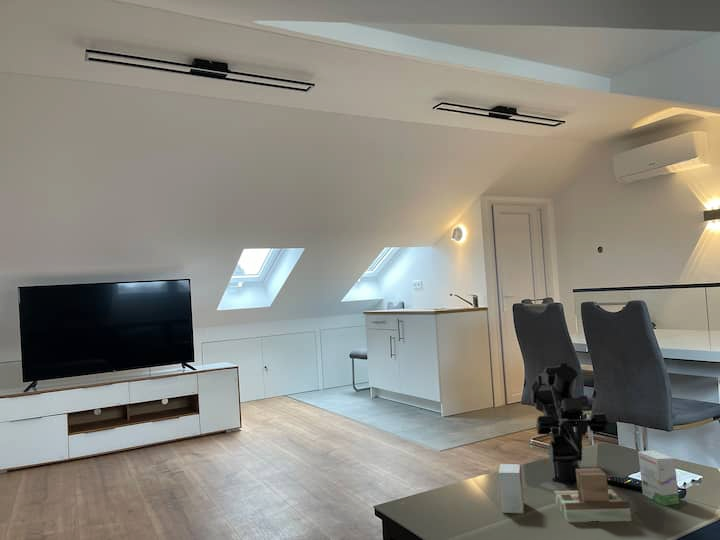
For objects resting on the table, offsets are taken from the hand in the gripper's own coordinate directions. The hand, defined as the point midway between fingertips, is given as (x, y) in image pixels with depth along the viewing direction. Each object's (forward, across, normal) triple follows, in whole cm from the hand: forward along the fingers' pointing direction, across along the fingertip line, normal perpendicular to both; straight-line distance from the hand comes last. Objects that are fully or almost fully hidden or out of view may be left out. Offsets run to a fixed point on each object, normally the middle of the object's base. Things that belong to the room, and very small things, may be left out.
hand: (579, 451), depth 141 cm
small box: (+11, -19, +9) cm, 24 cm away
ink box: (+9, +20, +11) cm, 24 cm away
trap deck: (+14, 0, +6) cm, 15 cm away
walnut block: (+14, 0, +1) cm, 14 cm away
